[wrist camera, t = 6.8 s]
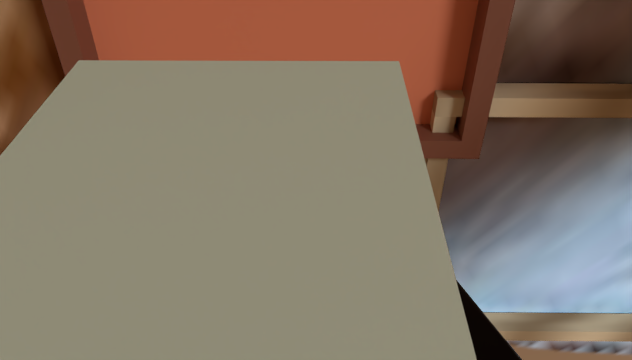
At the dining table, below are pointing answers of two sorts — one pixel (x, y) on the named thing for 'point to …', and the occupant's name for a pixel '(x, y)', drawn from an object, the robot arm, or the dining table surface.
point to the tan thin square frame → (541, 103)
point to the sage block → (225, 218)
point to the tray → (311, 44)
